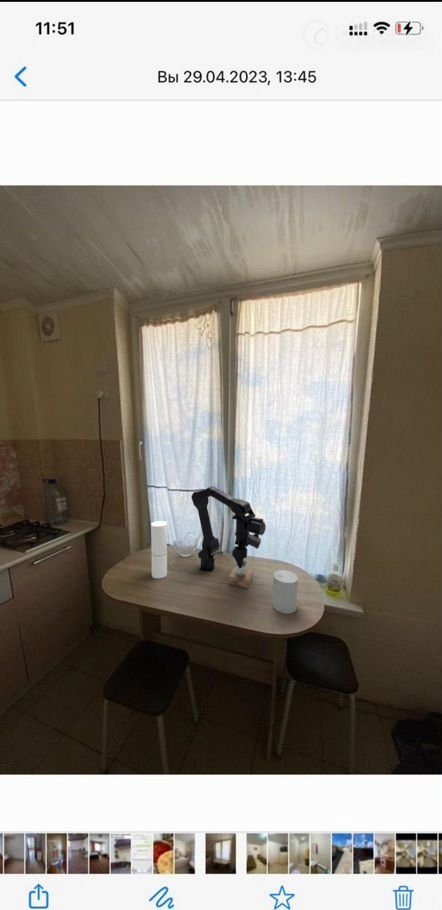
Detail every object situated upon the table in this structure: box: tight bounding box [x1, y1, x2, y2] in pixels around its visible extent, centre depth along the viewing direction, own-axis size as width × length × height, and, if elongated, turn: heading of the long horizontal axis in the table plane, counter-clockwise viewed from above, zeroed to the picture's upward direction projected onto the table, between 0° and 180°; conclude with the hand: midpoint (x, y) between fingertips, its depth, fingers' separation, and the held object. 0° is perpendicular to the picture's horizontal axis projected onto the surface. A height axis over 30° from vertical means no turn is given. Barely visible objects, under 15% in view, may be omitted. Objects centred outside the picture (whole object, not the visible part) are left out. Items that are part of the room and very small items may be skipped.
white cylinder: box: [271, 568, 299, 615], centre depth 99 cm, size 10×10×12 cm
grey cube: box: [235, 560, 248, 577], centre depth 114 cm, size 5×5×5 cm
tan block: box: [228, 566, 254, 589], centre depth 115 cm, size 9×9×4 cm
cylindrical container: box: [150, 520, 168, 579], centre depth 118 cm, size 7×7×25 cm
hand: (241, 562), depth 114 cm, fingers open, 9 cm apart
